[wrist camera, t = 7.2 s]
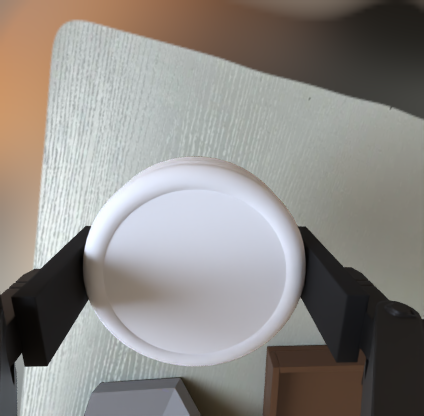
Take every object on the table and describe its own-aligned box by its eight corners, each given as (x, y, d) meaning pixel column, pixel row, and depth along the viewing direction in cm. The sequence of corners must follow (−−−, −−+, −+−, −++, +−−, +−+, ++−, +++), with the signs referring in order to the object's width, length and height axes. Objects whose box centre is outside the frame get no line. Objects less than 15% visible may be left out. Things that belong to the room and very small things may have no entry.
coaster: (323, 208, 16) (355, 232, 13) (233, 348, 19) (241, 399, 15) (149, 118, 15) (134, 119, 11) (76, 284, 17) (45, 325, 14)
